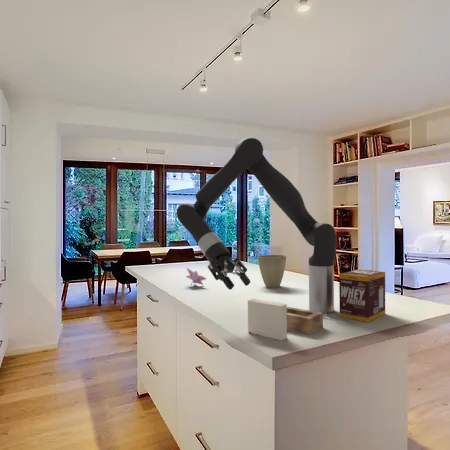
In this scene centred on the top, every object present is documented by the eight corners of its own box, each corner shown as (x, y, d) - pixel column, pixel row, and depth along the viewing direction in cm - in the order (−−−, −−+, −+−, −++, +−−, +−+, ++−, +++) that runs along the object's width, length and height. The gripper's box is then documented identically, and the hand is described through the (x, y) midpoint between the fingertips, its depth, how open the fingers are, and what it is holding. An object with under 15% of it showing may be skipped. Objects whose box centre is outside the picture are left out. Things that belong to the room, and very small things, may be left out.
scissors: (319, 310, 137) (361, 322, 119) (319, 312, 137) (361, 324, 119) (297, 314, 132) (338, 327, 114) (297, 316, 132) (338, 330, 114)
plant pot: (285, 283, 194) (285, 254, 194) (287, 289, 179) (287, 257, 179) (257, 283, 196) (257, 254, 195) (257, 289, 181) (257, 257, 181)
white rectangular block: (248, 332, 112) (247, 300, 111) (253, 330, 114) (253, 298, 114) (281, 340, 104) (281, 306, 104) (286, 337, 106) (286, 304, 106)
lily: (207, 290, 184) (211, 273, 188) (186, 283, 180) (191, 265, 184) (197, 294, 194) (201, 277, 198) (177, 287, 189) (181, 270, 194)
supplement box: (338, 317, 128) (338, 273, 128) (358, 309, 139) (358, 268, 138) (367, 322, 120) (367, 276, 120) (385, 313, 131) (385, 271, 131)
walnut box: (255, 322, 122) (255, 308, 121) (270, 317, 128) (270, 303, 128) (309, 334, 109) (309, 318, 109) (322, 327, 116) (322, 312, 115)
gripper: (204, 242, 115) (232, 281, 108) (232, 240, 126) (260, 275, 119) (193, 257, 119) (219, 297, 111) (221, 254, 129) (247, 289, 122)
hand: (240, 285), depth 115 cm, fingers open, 8 cm apart
